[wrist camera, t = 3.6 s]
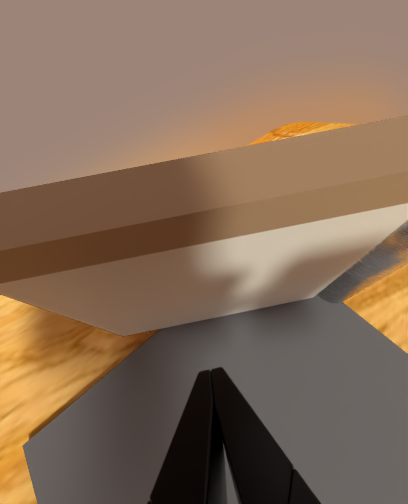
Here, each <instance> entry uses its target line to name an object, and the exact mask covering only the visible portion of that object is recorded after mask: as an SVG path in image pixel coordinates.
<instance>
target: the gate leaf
mask: <svg viewBox="0 0 408 504" xmlns="http://www.w3.org/2000/svg"><path fill="white" fill-rule="evenodd" d="M407 220H408V116H403V117H398V118H393V119H387V120H382V121H376V122H371V123H366V124H361V125H355V126H350V127H345V128H339V129H334V130H329V131H324V132H318V133H313V134H308V135H303V136H297V137H292V138H287V139H281V140H276V141H271V142H266V143H260V144H255V145H250V146H245V147H239V148H234V149H229V150H224V151H219V152H213V153H208V154H202V155H197V156H192V157H187V158H181V159H176V160H171V161H166V162H160V163H155V164H150V165H145V166H139V167H134V168H129V169H123V170H118V171H113V172H108V173H102V174H98V175H92V176H87V177H82V178H76V179H71V180H65V181H60V182H55V183H50V184H44V185H39V186H34V187H29V188H23V189H19V190H13V191H8V192H2V193H0V295H3V296H6V297H9V298H12V299H15V300H18V301H21V302H24V303H27V304H30V305H33V306H35V307H38V308H41V309H44V310H47V311H50V312H53V313H56V314H59V315H62V316H65V317H68V318H71V319H73V320H76V321H79V322H82V323H85V324H88V325H91V326H94V327H97V328H100V329H103V330H106V331H109V332H111V333H114V334H117V335H120V336H128V335H133V334H138V333H142V332H147V331H152V330H157V329H162V328H167V327H172V326H177V325H182V324H186V323H191V322H196V321H201V320H206V319H211V318H216V317H221V316H226V315H230V314H235V313H240V312H245V311H250V310H255V309H260V308H265V307H270V306H274V305H279V304H284V303H289V302H294V301H299V300H304V299H309V298H313V297H314V296H316V295H317V294H318V293H319V292H320V291H322V290H323V289H324V288H325V287H327V286H328V285H329V284H330V283H331V282H333V281H334V280H335V279H336V278H337V277H339V276H340V275H341V274H342V273H344V272H345V271H346V270H347V269H348V268H350V267H351V266H352V265H353V264H355V263H356V262H357V261H358V260H359V259H361V258H362V257H363V256H364V255H365V254H367V253H368V252H369V251H370V250H372V249H373V248H374V247H375V246H376V245H378V244H379V243H380V242H381V241H383V240H384V239H385V238H386V237H387V236H389V235H390V234H391V233H392V232H393V231H395V230H396V229H397V228H398V227H400V226H401V225H402V224H403V223H404V222H406V221H407Z"/></svg>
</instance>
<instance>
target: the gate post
mask: <svg viewBox="0 0 408 504" xmlns="http://www.w3.org/2000/svg"><path fill="white" fill-rule="evenodd" d="M407 264H408V220H407V221H406V222H404V223H403V224H402V225H401V226H400V227H398V228H397V229H396V230H395V231H393V232H392V233H391V234H390V235H389V236H387V237H386V238H385V239H384V240H383V241H381V242H380V243H379V244H378V245H376V246H375V247H374V248H373V249H372V250H370V251H369V252H368V253H367V254H365V255H364V256H363V257H362V258H361V259H359V260H358V261H357V262H356V263H355V264H353V265H352V266H351V267H350V268H348V269H347V270H346V271H345V272H344V273H342V274H341V275H340V276H339V277H337V278H336V279H335V280H334V281H333V282H331V283H330V284H329V285H328V286H327V287H325V288H324V289H323V290H322V291H320V292H319V293H318V294H317V295H318V296H319V297H320V298H321V299H323V300H325V301H327V302H330V303H340V302H343V301H345V300H346V299H348V298H350V297H352V296H353V295H355V294H357V293H358V292H360V291H362V290H364V289H365V288H367V287H369V286H370V285H372V284H374V283H376V282H377V281H379V280H381V279H382V278H384V277H386V276H388V275H389V274H391V273H393V272H394V271H396V270H398V269H400V268H401V267H403V266H405V265H407Z"/></svg>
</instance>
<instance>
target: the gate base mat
mask: <svg viewBox="0 0 408 504" xmlns="http://www.w3.org/2000/svg"><path fill="white" fill-rule="evenodd" d="M218 367H223V368H224V370H225V371H226V372H227V374H228V375H229V377H230V378H231V379H232V381H233V382H234V384H235V385H236V386H237V388H238V389H239V391H240V392H241V393H242V395H243V396H244V397H245V399H246V400H247V402H248V403H249V404H250V406H251V407H252V409H253V410H254V411H255V413H256V414H257V416H258V417H259V418H260V420H261V421H262V423H263V424H264V425H265V427H266V428H267V429H268V431H269V432H270V434H271V435H272V436H273V438H274V439H275V441H276V442H277V443H278V445H279V446H280V448H281V449H282V450H283V452H284V453H285V455H286V456H287V457H288V459H289V460H290V461H291V463H292V464H293V466H294V469H296V470H297V471H298V472H299V474H300V475H301V477H302V478H303V479H304V481H305V482H306V483H307V485H308V486H309V488H310V489H311V490H312V492H313V493H314V494H315V496H316V497H317V498H318V500H319V501H320V502H321V504H408V354H407V353H406V352H404V351H403V350H402V349H401V348H399V347H398V346H397V345H396V344H394V343H393V342H392V341H391V340H389V339H388V338H387V337H386V336H384V335H383V334H382V333H381V332H379V331H378V330H377V329H376V328H374V327H373V326H372V325H371V324H369V323H368V322H367V321H365V320H364V319H363V318H362V317H360V316H359V315H358V314H357V313H355V312H354V311H353V310H352V309H350V308H349V307H348V306H347V305H345V304H344V303H343V302H340V303H330V302H327V301H325V300H323V299H321V298H320V297H319V296H318V295H316V296H314V297H313V298H309V299H304V300H299V301H294V302H289V303H284V304H279V305H274V306H270V307H265V308H260V309H255V310H250V311H245V312H240V313H235V314H230V315H226V316H221V317H216V318H211V319H206V320H201V321H196V322H191V323H186V324H182V325H177V326H172V327H167V328H162V329H160V330H159V331H158V332H156V333H155V334H154V335H153V336H152V337H151V338H149V339H148V340H147V341H146V342H145V343H143V344H142V345H141V346H140V347H139V348H137V349H136V350H135V351H134V352H133V353H132V354H130V355H129V356H128V357H127V358H126V359H124V360H123V361H122V362H121V363H120V364H119V365H117V366H116V367H115V368H114V369H113V370H111V371H110V372H109V373H108V374H107V375H106V376H104V377H103V378H102V379H101V380H100V381H98V382H97V383H96V384H95V385H94V386H93V387H91V388H90V389H89V390H88V391H87V392H85V393H84V394H83V395H82V396H81V397H80V398H78V399H77V400H76V401H75V402H74V403H72V404H71V405H70V406H69V407H68V408H67V409H65V410H64V411H63V412H62V413H61V414H59V415H58V416H57V417H56V418H55V419H54V420H52V421H51V422H50V423H49V424H48V425H46V426H45V427H44V428H43V429H42V430H41V431H39V432H38V433H37V434H36V435H35V436H33V437H32V438H31V439H30V440H29V441H28V442H26V443H25V444H24V445H23V449H24V453H25V457H26V461H27V465H28V468H29V472H30V476H31V480H32V484H33V488H34V491H35V495H36V499H37V503H38V504H147V502H148V501H150V498H149V497H150V494H151V492H152V489H153V486H154V484H155V481H156V479H157V476H158V474H159V471H160V469H161V466H162V464H163V461H164V458H165V456H166V453H167V451H168V448H169V446H170V443H171V441H172V438H173V436H174V433H175V430H176V428H177V425H178V423H179V420H180V418H181V415H182V413H183V410H184V408H185V405H186V402H187V400H188V397H189V395H190V392H191V390H192V387H193V385H194V382H195V380H196V377H197V374H198V373H199V372H200V371H203V370H208V369H209V370H210V371H211V369H213V368H218ZM223 446H224V444H223ZM224 456H225V471H226V488H227V504H238V501H237V497H236V493H235V489H234V485H233V481H232V477H231V473H230V469H229V465H228V462H227V457H226V453H225V449H224ZM150 502H151V501H150Z"/></svg>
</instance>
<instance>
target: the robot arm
mask: <svg viewBox="0 0 408 504" xmlns="http://www.w3.org/2000/svg"><path fill="white" fill-rule="evenodd" d="M223 444H224V446H223ZM224 449H225V453H226V457H227V462H228V465H229V469H230V473H231V477H232V481H233V485H234V489H235V493H236V497H237V501H238V504H321V502H320V501H319V500H318V498H317V497H316V496H315V494H314V493H313V492H312V490H311V489H310V488H309V486H308V485H307V483H306V482H305V481H304V479H303V478H302V477H301V475H300V474H299V472H298V471H297V470H296V469H294V466H293V464H292V463H291V461H290V460H289V459H288V457H287V456H286V455H285V453H284V452H283V450H282V449H281V448H280V446H279V445H278V443H277V442H276V441H275V439H274V438H273V436H272V435H271V434H270V432H269V431H268V429H267V428H266V427H265V425H264V424H263V423H262V421H261V420H260V418H259V417H258V416H257V414H256V413H255V411H254V410H253V409H252V407H251V406H250V404H249V403H248V402H247V400H246V399H245V397H244V396H243V395H242V393H241V392H240V391H239V389H238V388H237V386H236V385H235V384H234V382H233V381H232V379H231V378H230V377H229V375H228V374H227V372H226V371H225V370H224V368H223V367H218V368H213V369H211V371H210V370H209V369H208V370H203V371H200V372H199V373H198V374H197V377H196V380H195V382H194V385H193V387H192V390H191V392H190V395H189V397H188V400H187V402H186V405H185V408H184V410H183V413H182V415H181V418H180V420H179V423H178V425H177V428H176V430H175V433H174V436H173V438H172V441H171V443H170V446H169V448H168V451H167V453H166V456H165V458H164V461H163V464H162V466H161V469H160V471H159V474H158V476H157V479H156V481H155V484H154V486H153V489H152V492H151V494H150V497H149V498H150V501H151V502H150V501H148V502H147V504H227V488H226V471H225V456H224Z"/></svg>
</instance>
